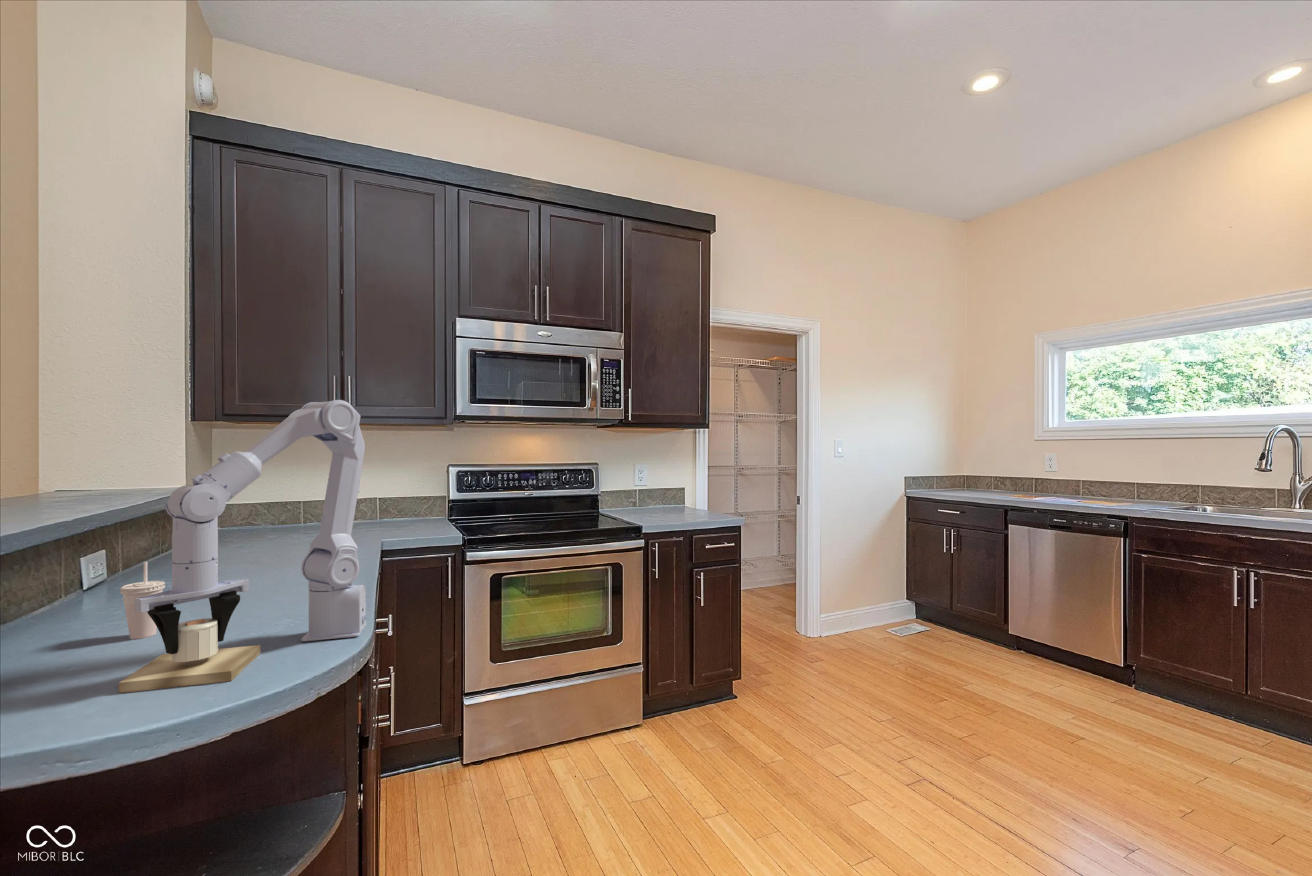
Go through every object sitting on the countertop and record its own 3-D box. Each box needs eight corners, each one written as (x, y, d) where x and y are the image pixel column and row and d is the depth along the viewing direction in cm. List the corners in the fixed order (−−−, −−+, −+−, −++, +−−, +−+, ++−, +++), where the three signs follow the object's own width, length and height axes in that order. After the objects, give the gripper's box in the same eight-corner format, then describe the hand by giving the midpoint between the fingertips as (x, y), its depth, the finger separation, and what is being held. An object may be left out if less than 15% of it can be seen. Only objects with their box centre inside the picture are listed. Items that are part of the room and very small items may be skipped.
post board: (260, 654, 99) (260, 624, 99) (231, 682, 88) (231, 647, 88) (162, 664, 95) (162, 632, 95) (118, 694, 84) (118, 658, 84)
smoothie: (138, 642, 106) (138, 565, 106) (110, 640, 107) (110, 564, 107) (174, 631, 112) (174, 558, 112) (147, 629, 113) (147, 557, 113)
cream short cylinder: (207, 647, 95) (207, 614, 95) (224, 652, 93) (224, 618, 93) (165, 658, 91) (165, 623, 91) (182, 664, 88) (182, 628, 88)
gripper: (233, 550, 100) (233, 629, 100) (125, 566, 87) (125, 656, 87) (255, 554, 97) (255, 635, 96) (146, 571, 84) (146, 665, 84)
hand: (195, 646), depth 92 cm, fingers closed on cream short cylinder, 6 cm apart
